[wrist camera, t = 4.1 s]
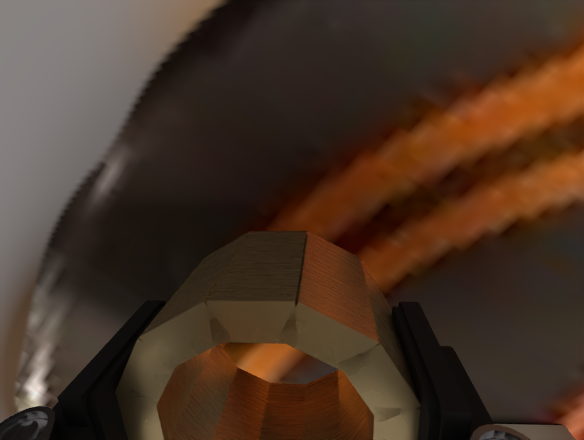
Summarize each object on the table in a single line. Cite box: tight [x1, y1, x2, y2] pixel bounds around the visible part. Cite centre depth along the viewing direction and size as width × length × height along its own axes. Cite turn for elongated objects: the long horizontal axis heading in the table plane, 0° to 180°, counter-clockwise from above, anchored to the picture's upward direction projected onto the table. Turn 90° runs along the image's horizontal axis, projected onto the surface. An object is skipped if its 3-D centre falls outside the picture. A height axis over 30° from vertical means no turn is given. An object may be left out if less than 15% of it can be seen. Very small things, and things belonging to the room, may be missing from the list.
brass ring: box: [115, 231, 421, 440], centre depth 10 cm, size 7×7×4 cm
